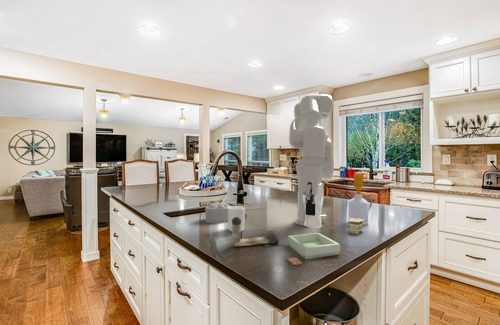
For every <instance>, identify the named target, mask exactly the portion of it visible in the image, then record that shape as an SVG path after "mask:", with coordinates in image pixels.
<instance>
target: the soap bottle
mask: <svg viewBox="0 0 500 325" xmlns="http://www.w3.org/2000/svg"><path fill="white" fill-rule="evenodd" d="M353 179H354V180H353V188H354V189H355V190H356V192H354V197H353V198H351V199H350V200H348V207H347V208H348V212H347V213H348V214H347V219H348V220H347V222H348V223H349V218H360V219H364V220H363V221H362V222H364V224H363V226H367V225H369V202H368V201H367V200H366V199H365V198H363V193H362V192H361V191H362V189H364V173H362V172H361V173H356V172H355V173H354V174H353Z"/></svg>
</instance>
